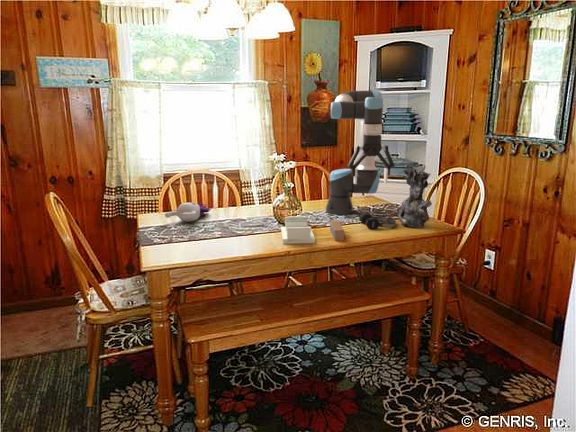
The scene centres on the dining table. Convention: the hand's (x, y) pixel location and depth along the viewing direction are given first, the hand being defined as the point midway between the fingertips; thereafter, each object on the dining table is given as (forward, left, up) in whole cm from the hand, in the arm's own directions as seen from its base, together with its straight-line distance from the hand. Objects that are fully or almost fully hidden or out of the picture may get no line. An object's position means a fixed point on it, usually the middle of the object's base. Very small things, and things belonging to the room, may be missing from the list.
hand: (370, 183), depth 194 cm
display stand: (-2, -32, -25) cm, 40 cm away
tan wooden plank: (-3, -14, -25) cm, 29 cm away
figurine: (-34, -84, -25) cm, 94 cm away
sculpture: (-17, +27, -25) cm, 41 cm away
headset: (-18, +8, -25) cm, 32 cm away
